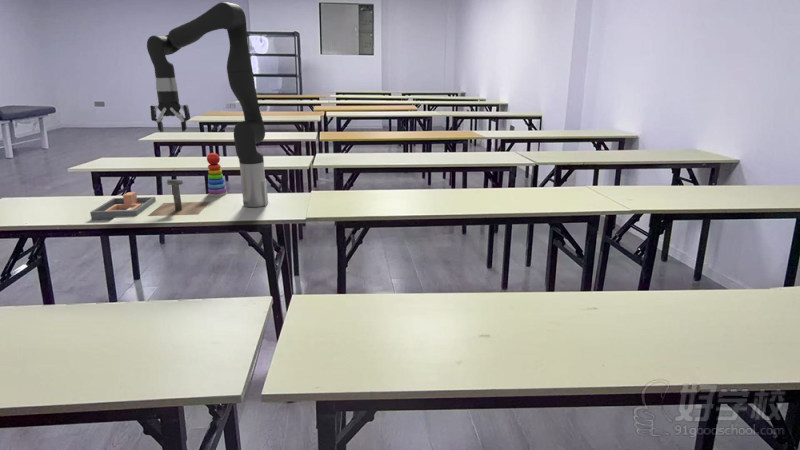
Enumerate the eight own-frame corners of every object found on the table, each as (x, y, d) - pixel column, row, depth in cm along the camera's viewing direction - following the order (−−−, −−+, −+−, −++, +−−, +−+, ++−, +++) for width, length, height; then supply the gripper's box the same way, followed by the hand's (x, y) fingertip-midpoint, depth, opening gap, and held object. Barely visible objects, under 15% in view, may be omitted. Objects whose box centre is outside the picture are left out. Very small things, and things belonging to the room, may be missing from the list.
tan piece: (147, 203, 207) (145, 191, 205) (132, 214, 193) (130, 201, 191) (120, 204, 206) (118, 192, 205) (104, 215, 192) (101, 202, 190)
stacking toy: (207, 195, 222) (202, 152, 217) (226, 193, 225) (222, 150, 220) (209, 199, 215) (203, 155, 210) (229, 197, 219) (224, 153, 213)
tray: (156, 204, 209) (155, 196, 208) (137, 218, 190) (136, 210, 189) (114, 205, 207) (113, 198, 206) (91, 220, 188) (90, 212, 187)
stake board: (210, 204, 208) (206, 173, 204) (198, 217, 191) (194, 183, 187) (164, 205, 206) (159, 174, 202) (147, 219, 189) (142, 184, 185)
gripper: (188, 89, 207) (193, 130, 212) (151, 89, 206) (157, 130, 211) (183, 90, 200) (188, 132, 205) (144, 90, 198) (151, 133, 203)
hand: (172, 131), depth 208 cm, fingers open, 8 cm apart
